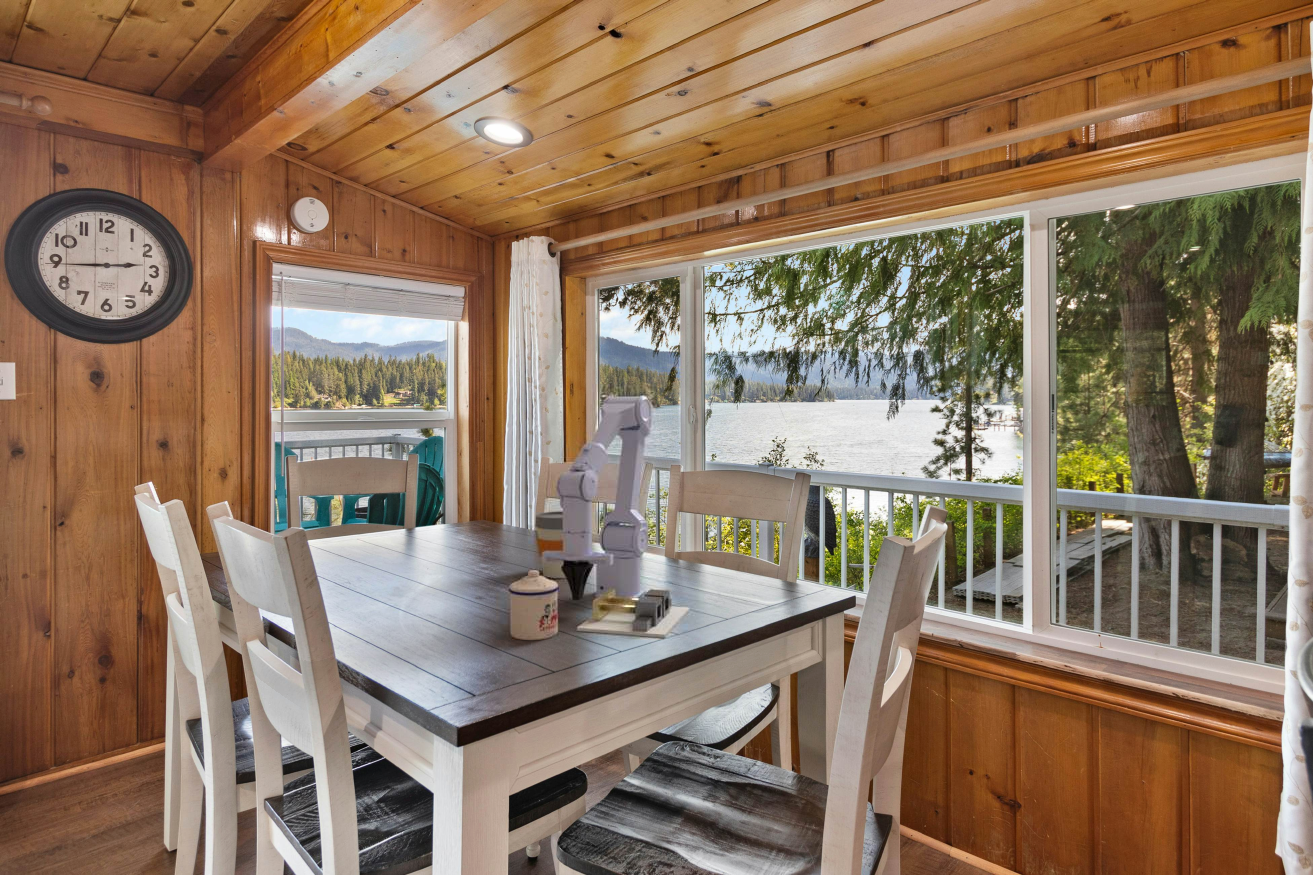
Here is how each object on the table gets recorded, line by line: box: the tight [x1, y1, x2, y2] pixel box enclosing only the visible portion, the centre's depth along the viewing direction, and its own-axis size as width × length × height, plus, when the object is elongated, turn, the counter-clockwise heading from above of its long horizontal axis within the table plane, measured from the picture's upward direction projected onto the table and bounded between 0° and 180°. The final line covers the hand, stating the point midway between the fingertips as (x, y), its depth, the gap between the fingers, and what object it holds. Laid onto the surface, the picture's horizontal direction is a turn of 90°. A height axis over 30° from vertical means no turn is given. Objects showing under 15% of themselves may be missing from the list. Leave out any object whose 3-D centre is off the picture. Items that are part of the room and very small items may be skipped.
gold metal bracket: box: [592, 589, 640, 620], centre depth 147 cm, size 8×10×4 cm
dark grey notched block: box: [643, 588, 672, 618], centre depth 150 cm, size 4×8×4 cm, turn 164°
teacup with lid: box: [508, 569, 560, 641], centre depth 139 cm, size 12×9×12 cm
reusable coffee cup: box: [534, 510, 566, 579], centre depth 187 cm, size 13×13×15 cm
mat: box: [576, 605, 690, 639], centre depth 146 cm, size 17×19×1 cm
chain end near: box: [633, 595, 662, 632], centre depth 141 cm, size 4×8×4 cm, turn 164°
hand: (577, 598), depth 150 cm, fingers closed
